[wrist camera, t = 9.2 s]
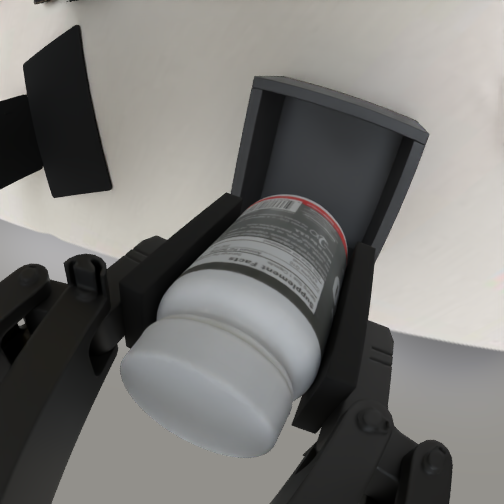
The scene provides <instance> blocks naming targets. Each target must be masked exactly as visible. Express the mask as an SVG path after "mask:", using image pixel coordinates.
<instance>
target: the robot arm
mask: <svg viewBox="0 0 504 504" xmlns="http://www.w3.org/2000/svg"><path fill="white" fill-rule="evenodd" d="M242 202H243V198H241V197H238V196H235V195H232V194H229V193H225V194H224V195H222V196H221V197H220V198H219V199H217V200H216V201H215V202H214V203H212V204H211V205H210V206H209V207H207V208H206V209H205V210H204V211H202V212H201V213H200V214H199V215H197V216H196V217H195V218H194V219H192V220H191V221H190V222H189V223H188V224H186V225H185V226H184V227H183V228H181V229H180V230H179V231H178V232H177V233H175V234H174V235H173V236H172V237H171V238H169V239H168V240H166V239H163V238H161V237H159V236H154V237H151V238H148V239H146V240H143V241H142V242H140V243H139V244H138V245H137V246H135V247H134V249H133V250H130V251H129V252H128V253H127V254H126V255H125V256H123V257H122V258H120V259H119V260H118V261H117V262H116V263H114V264H113V265H112V266H110V267H109V268H108V269H106V263H105V262H104V261H103V260H102V258H100V257H98V256H96V255H91V254H81V255H76V256H74V257H72V258H69V259H68V260H67V261H65V262H64V267H65V272H66V277H67V282H68V284H66V283H62V282H57V281H54V280H50V279H49V275H48V271H47V269H46V268H45V267H44V266H42V265H39V264H28V265H24V266H23V267H20V268H19V269H17V270H16V271H14V272H13V273H12V274H10V275H9V276H8V277H6V278H5V279H4V280H2V281H1V282H0V504H51V503H52V500H53V498H54V495H55V492H56V490H57V487H58V485H59V482H60V480H61V477H62V474H63V472H64V470H65V467H66V465H67V462H68V459H69V457H70V455H71V452H72V450H73V448H74V446H75V443H76V441H77V439H78V436H79V434H80V432H81V429H82V427H83V425H84V423H85V421H86V418H87V416H88V414H89V412H90V410H91V407H92V405H93V403H94V401H95V398H96V397H97V395H98V392H99V390H100V388H101V386H102V384H103V382H104V380H105V378H106V376H107V374H108V372H109V369H110V367H111V365H112V363H113V361H114V359H115V357H116V355H117V352H118V345H117V343H118V342H119V341H120V340H121V339H122V338H123V337H124V336H125V340H126V346H127V347H129V348H130V349H131V348H132V347H133V345H134V344H135V343H136V342H137V340H138V339H139V338H140V337H141V335H142V334H143V332H144V331H145V330H146V328H147V327H148V326H150V325H151V324H153V323H155V322H156V321H157V311H158V307H159V304H160V301H161V299H162V297H163V296H164V294H165V292H166V291H167V290H168V289H169V287H170V286H171V285H172V284H173V283H174V282H175V281H176V279H177V278H178V277H179V276H180V275H181V274H182V273H183V272H184V271H185V270H186V269H188V268H189V267H190V266H191V265H192V264H193V263H194V262H195V261H196V260H197V259H198V258H199V257H200V256H201V255H202V254H203V253H204V252H205V251H206V250H207V249H208V248H209V247H210V246H211V245H212V244H213V243H214V242H215V241H216V240H217V239H218V238H219V237H220V236H221V235H222V234H223V233H224V232H225V231H226V230H227V229H228V228H229V227H230V226H231V225H232V224H233V223H234V222H235V221H236V220H237V219H238V218H239V217H240V212H241V207H242ZM375 250H376V248H373V247H371V246H368V245H366V244H363V243H361V242H357V244H356V246H355V249H354V251H353V253H352V256H351V258H350V260H349V262H348V265H347V267H346V271H345V275H344V278H343V283H342V287H341V291H340V295H339V300H338V303H337V308H336V312H335V315H334V318H333V323H332V326H331V330H330V334H329V337H328V341H327V344H326V348H325V352H324V355H323V358H322V362H321V365H320V368H319V370H318V373H317V376H316V378H315V380H314V382H313V383H312V385H311V386H310V388H309V389H308V390H307V391H306V392H305V393H304V394H303V395H302V398H301V401H300V403H299V406H298V409H297V412H296V414H295V417H294V420H293V422H292V426H295V427H298V428H300V429H303V430H306V431H309V432H312V433H317V432H318V430H319V429H320V428H321V427H322V428H321V431H320V434H319V437H318V440H317V442H316V443H315V444H314V445H313V446H312V447H311V448H309V449H308V450H307V451H306V452H305V453H304V454H303V456H305V457H304V458H303V460H302V461H301V463H300V464H299V465H298V467H297V468H296V470H295V471H294V472H293V474H292V475H291V476H290V478H289V480H288V481H287V482H286V483H285V485H284V486H283V487H282V489H281V490H280V491H279V493H278V494H277V495H276V496H275V498H274V499H273V500H272V502H271V503H270V504H449V499H450V491H451V479H452V466H453V465H452V457H451V455H450V452H449V450H448V449H447V448H446V447H445V446H444V445H443V444H442V443H440V442H438V441H436V440H426V441H424V442H422V443H420V444H417V443H416V442H414V441H413V440H411V439H410V438H408V437H406V436H405V435H403V434H402V433H401V432H400V431H399V430H397V429H396V427H395V426H394V423H393V419H392V415H391V414H390V412H389V411H388V399H389V390H390V381H391V370H392V367H391V365H392V358H393V357H392V355H393V343H394V341H393V338H392V336H391V333H390V330H389V328H387V327H384V326H382V325H379V324H377V323H374V322H371V321H369V320H368V315H369V308H370V300H371V291H372V282H373V272H374V262H375ZM22 318H23V319H24V321H25V324H24V325H22V326H18V324H17V323H18V322H19V321H20V320H21V319H22Z"/></svg>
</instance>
